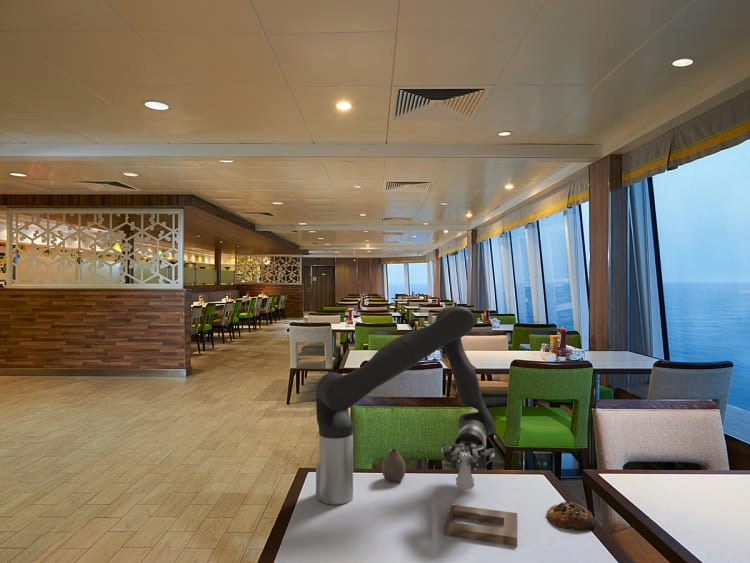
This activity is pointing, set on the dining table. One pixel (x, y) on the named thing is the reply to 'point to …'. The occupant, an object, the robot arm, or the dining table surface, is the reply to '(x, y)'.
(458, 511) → the rectangular wooden frame
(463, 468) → the rook chess piece
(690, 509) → the dining table surface
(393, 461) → the vase
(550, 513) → the bread roll
